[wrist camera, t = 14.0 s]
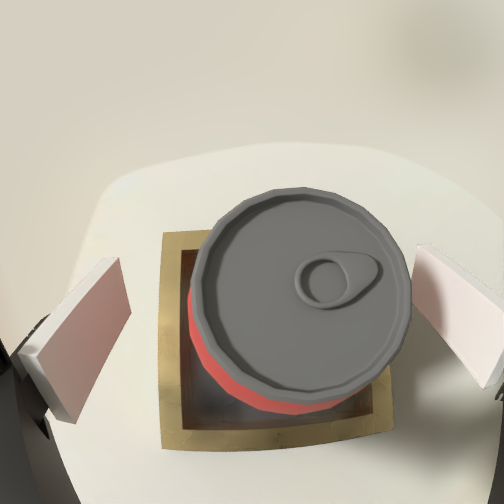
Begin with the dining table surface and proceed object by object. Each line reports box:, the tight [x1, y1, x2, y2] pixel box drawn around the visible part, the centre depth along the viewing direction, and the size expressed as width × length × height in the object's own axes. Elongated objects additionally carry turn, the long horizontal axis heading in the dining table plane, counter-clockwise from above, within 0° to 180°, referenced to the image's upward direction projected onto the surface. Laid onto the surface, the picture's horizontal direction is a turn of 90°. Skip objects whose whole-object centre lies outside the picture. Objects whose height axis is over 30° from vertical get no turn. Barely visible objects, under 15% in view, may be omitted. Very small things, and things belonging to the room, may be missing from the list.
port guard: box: [158, 230, 394, 452], centre depth 17 cm, size 14×14×4 cm
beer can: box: [187, 187, 412, 415], centre depth 12 cm, size 7×7×12 cm
